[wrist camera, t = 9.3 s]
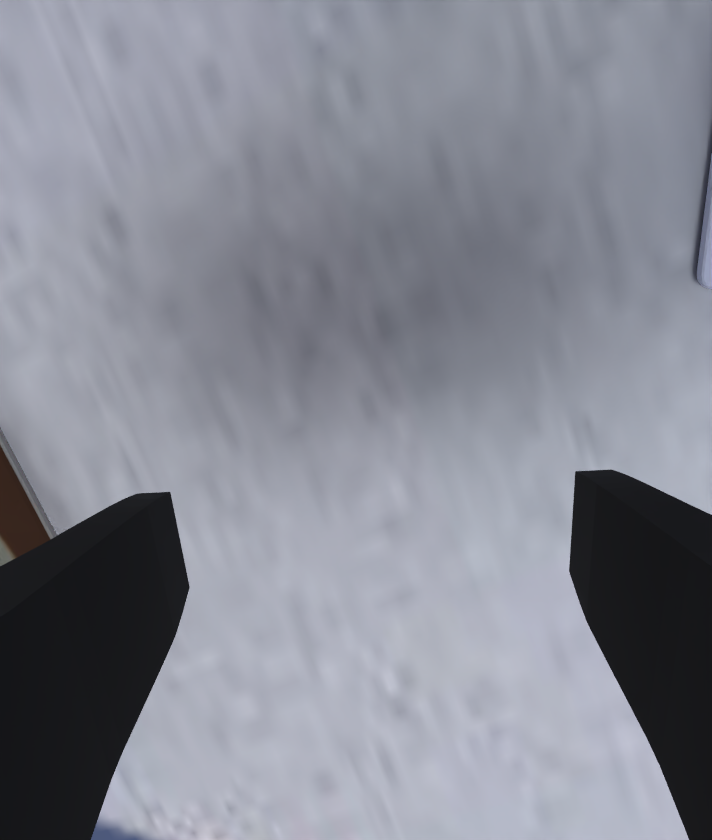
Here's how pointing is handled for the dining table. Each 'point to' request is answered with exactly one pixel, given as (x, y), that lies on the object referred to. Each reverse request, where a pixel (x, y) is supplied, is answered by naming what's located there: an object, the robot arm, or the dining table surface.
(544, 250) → the dining table surface
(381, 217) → the dining table surface
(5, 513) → the food container
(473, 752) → the dining table surface
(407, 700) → the dining table surface
